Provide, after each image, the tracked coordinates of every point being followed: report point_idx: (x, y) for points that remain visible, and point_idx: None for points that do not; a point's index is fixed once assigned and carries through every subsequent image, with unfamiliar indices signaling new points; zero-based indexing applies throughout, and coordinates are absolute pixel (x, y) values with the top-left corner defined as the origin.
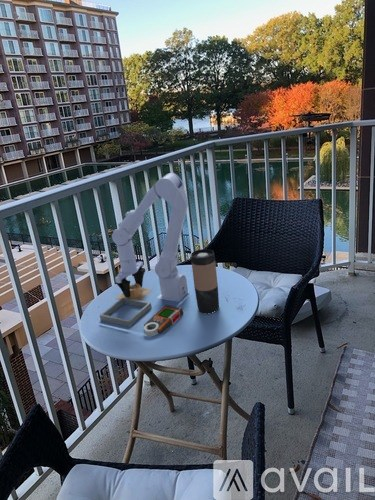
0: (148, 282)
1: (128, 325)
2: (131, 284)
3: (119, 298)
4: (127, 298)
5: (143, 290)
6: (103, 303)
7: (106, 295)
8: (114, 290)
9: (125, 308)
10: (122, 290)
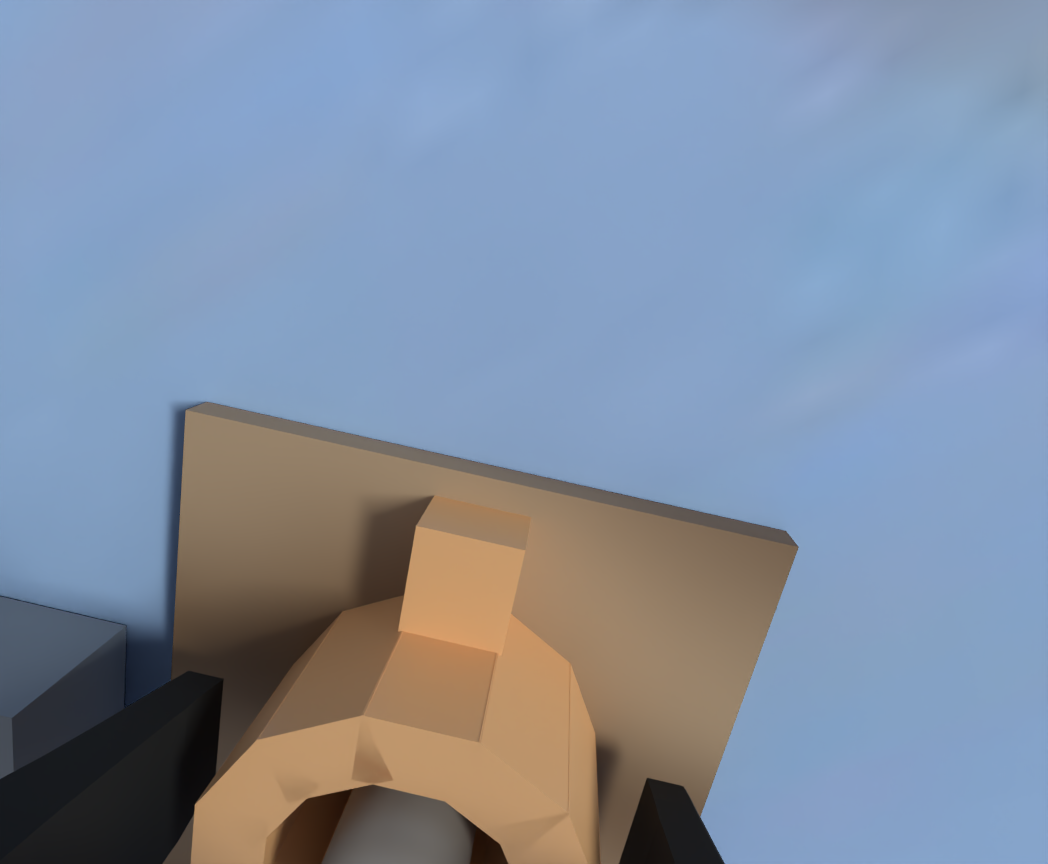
0: (1027, 798)
1: None
2: (528, 821)
3: (210, 503)
4: None
5: None
6: (8, 175)
7: (357, 26)
8: (642, 122)
9: None
10: (17, 793)
